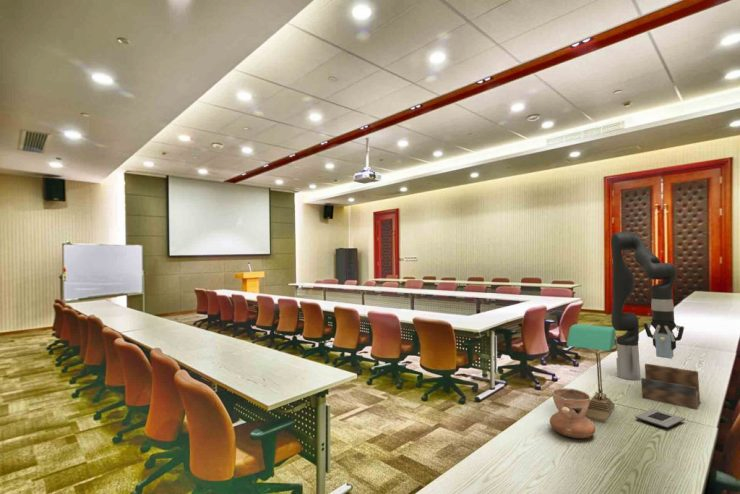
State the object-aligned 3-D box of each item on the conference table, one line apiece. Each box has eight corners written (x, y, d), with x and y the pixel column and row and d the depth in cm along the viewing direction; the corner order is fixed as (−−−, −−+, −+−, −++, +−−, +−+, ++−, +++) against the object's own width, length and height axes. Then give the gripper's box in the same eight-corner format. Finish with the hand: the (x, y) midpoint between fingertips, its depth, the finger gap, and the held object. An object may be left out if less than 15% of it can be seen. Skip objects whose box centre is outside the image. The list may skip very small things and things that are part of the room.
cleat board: (642, 398, 160) (640, 368, 161) (647, 392, 167) (645, 363, 168) (696, 409, 147) (694, 377, 148) (700, 402, 154) (697, 371, 154)
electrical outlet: (667, 432, 130) (667, 425, 130) (635, 421, 139) (634, 415, 139) (685, 423, 136) (685, 417, 136) (653, 414, 145) (652, 407, 146)
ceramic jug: (590, 448, 120) (588, 405, 121) (543, 435, 130) (542, 395, 131) (600, 430, 134) (598, 390, 134) (557, 419, 143) (556, 382, 144)
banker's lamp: (625, 409, 149) (619, 324, 151) (615, 427, 134) (609, 332, 136) (582, 400, 160) (577, 320, 162) (568, 416, 145) (563, 328, 146)
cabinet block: (655, 357, 156) (654, 333, 156) (659, 354, 160) (657, 331, 160) (670, 359, 152) (669, 335, 153) (673, 356, 156) (672, 333, 157)
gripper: (640, 308, 160) (642, 347, 160) (682, 311, 149) (684, 353, 149) (644, 306, 165) (646, 344, 165) (685, 309, 154) (687, 349, 154)
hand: (664, 348), depth 157 cm, fingers closed on cabinet block, 5 cm apart
